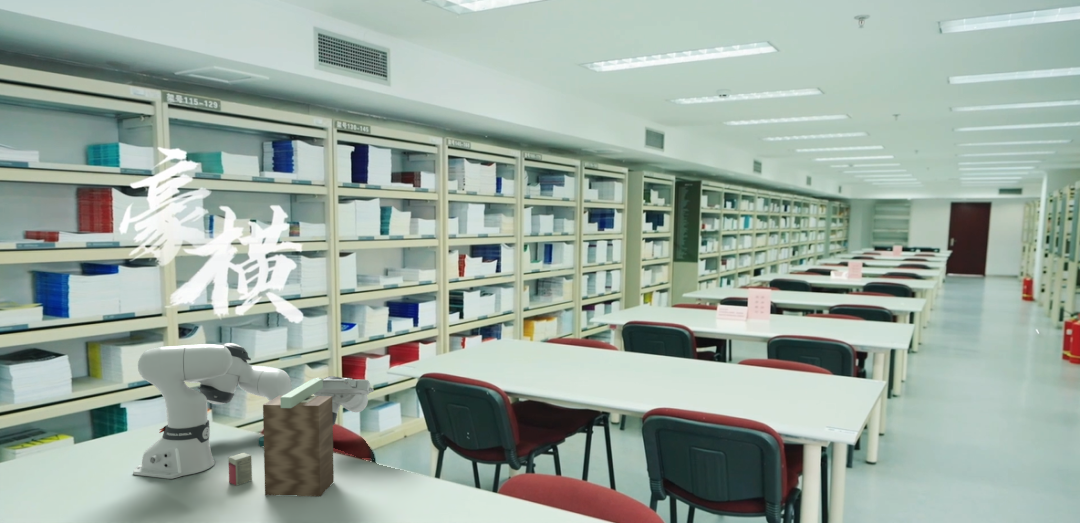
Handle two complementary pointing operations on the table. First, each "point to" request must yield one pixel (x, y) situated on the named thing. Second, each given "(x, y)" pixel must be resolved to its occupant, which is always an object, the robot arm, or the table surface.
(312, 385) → the bar
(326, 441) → the stand
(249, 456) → the small box
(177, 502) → the table surface
